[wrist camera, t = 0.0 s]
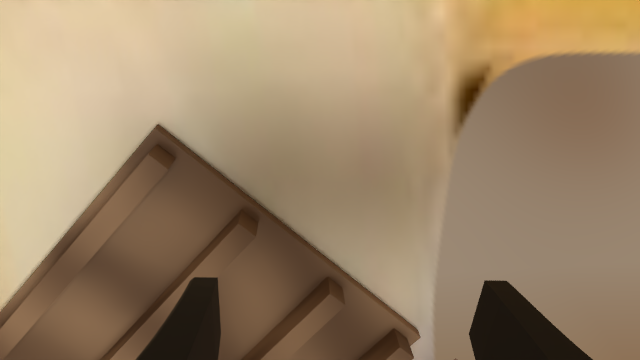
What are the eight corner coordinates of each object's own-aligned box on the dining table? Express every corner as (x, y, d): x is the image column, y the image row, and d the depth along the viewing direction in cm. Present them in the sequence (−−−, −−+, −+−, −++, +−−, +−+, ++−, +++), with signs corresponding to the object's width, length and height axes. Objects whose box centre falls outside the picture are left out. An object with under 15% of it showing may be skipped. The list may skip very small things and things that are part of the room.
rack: (228, 495, 30) (224, 529, 28) (-30, 349, 26) (-57, 378, 24) (417, 330, 27) (427, 356, 25) (158, 124, 22) (145, 137, 20)
